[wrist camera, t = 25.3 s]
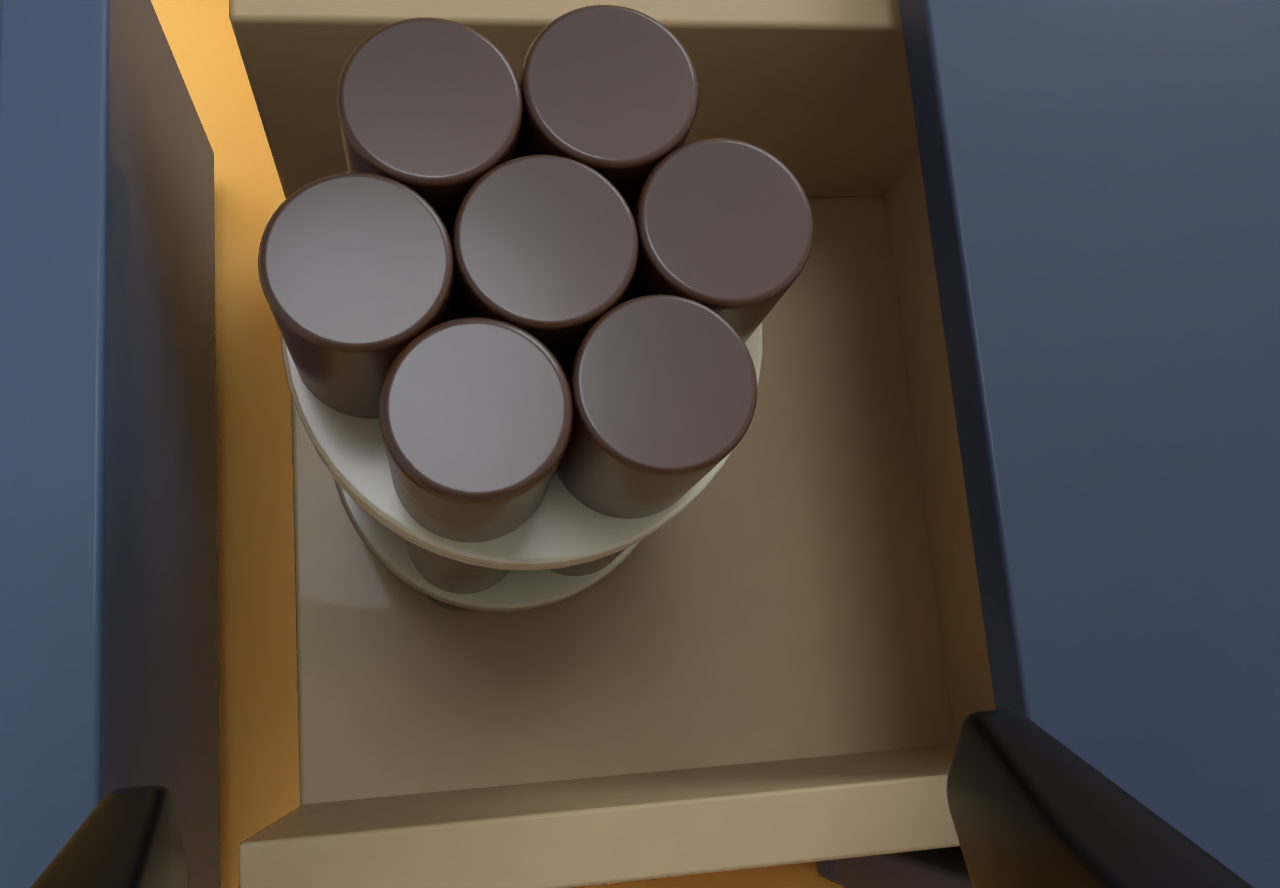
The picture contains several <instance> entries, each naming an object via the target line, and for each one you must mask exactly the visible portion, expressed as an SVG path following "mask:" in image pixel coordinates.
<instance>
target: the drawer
mask: <svg viewBox="0 0 1280 888" xmlns="http://www.w3.org/2000/svg"><path fill="white" fill-rule="evenodd" d="M593 5H615V6H622V7H626V8H631V9H634V10H636V11H639V12H642V13H644V14H646V15H648V16H650V17H652V18H654V19H655V20H657V21H658V22H660V23H661V24H663V25H664V26H665V27H666V28H667V29H669V30H670V31H671V32H672V33H673V34H674V35H675V36H676V37H677V38H678V40H679V41H680V42H681V44H682V45H683V46H684V48H685V50H686V51H687V53H688V55H689V57H690V59H691V61H692V64H693V66H694V68H695V72H696V76H697V79H698V87H699V102H698V109H697V113H696V116H695V119H694V122H693V125H692V127H691V129H690V132H689V134H688V137H687V139H686V141H685V144H684V145H686V144H689V143H692V142H696V141H699V140H705V139H712V138H725V139H734V140H739V141H744V142H747V143H750V144H752V145H755V146H757V147H759V148H761V149H763V150H765V151H767V152H769V153H770V154H772V155H773V156H775V157H776V158H777V159H778V160H780V161H781V162H782V163H783V164H784V165H785V166H786V167H787V168H788V169H789V170H790V171H791V172H792V173H793V175H794V176H795V177H796V179H797V180H798V181H799V183H800V185H801V187H802V188H803V190H804V192H805V195H806V197H807V199H808V202H809V206H810V209H811V213H812V220H813V241H812V247H811V251H810V255H809V258H808V260H807V262H806V265H805V267H804V268H803V270H802V272H801V273H800V275H799V276H798V278H797V279H796V280H795V281H794V283H793V284H792V285H791V286H790V287H789V289H788V290H787V291H786V292H785V294H784V295H783V296H782V297H781V299H780V300H779V301H778V302H777V304H776V305H775V306H774V307H773V309H772V310H771V311H770V312H769V314H768V315H767V316H766V317H765V319H764V320H763V321H762V362H761V370H760V377H759V384H758V388H757V401H756V408H755V411H754V415H753V419H752V421H751V423H750V426H749V428H748V430H747V432H746V433H745V435H744V437H743V438H742V440H741V441H740V442H739V444H738V445H737V446H736V447H735V448H734V450H733V451H732V453H731V455H730V456H729V458H728V460H727V461H726V463H725V465H724V466H723V468H722V469H721V470H720V471H719V472H718V474H717V475H716V476H715V477H714V479H713V480H712V481H711V482H710V484H709V485H708V486H707V487H706V489H705V490H704V491H703V492H702V493H701V494H700V495H699V496H697V497H696V498H695V499H694V500H693V501H692V502H691V503H690V504H689V505H688V506H687V507H686V508H685V509H684V510H683V511H681V512H680V513H679V514H678V515H677V516H676V517H675V518H673V519H672V520H671V521H669V522H668V523H666V524H665V525H664V526H662V527H661V528H659V529H658V530H657V531H655V532H654V533H652V534H651V535H650V536H648V537H646V538H644V539H642V540H641V541H640V543H639V544H638V545H637V546H636V548H635V549H634V550H633V551H632V552H631V554H630V555H629V556H628V557H627V558H626V559H625V560H624V561H623V562H621V563H620V564H619V565H618V566H617V567H616V568H615V569H614V570H613V571H612V572H611V573H609V574H608V575H607V576H605V577H604V578H603V579H601V580H600V581H598V582H597V583H596V584H594V585H593V586H591V587H590V588H588V589H586V590H584V591H582V592H580V593H579V594H577V595H575V596H573V597H571V598H568V599H565V600H563V601H560V602H557V603H555V604H552V605H548V606H544V607H540V608H535V609H531V610H523V611H513V612H489V611H479V610H473V609H471V610H465V611H456V610H450V609H447V608H443V607H441V606H439V605H437V604H435V603H434V602H432V601H431V600H430V599H429V598H427V596H426V595H425V594H424V593H422V592H420V591H418V590H417V589H415V588H413V587H412V586H410V585H409V584H407V583H405V582H404V581H402V580H401V579H399V578H398V577H397V576H396V575H395V574H393V573H392V572H391V571H390V570H389V569H387V568H386V567H385V566H384V565H383V564H382V563H381V562H380V561H379V560H378V559H377V558H376V557H375V555H374V554H373V553H372V552H371V551H370V550H369V549H368V548H367V546H366V545H365V543H364V542H363V540H362V539H361V537H360V536H359V535H358V533H357V532H356V530H355V528H354V526H353V524H352V522H351V520H350V518H349V516H348V515H347V513H346V511H345V509H344V507H343V504H342V501H341V499H340V496H339V493H338V490H337V487H336V484H335V480H334V477H333V475H332V474H331V472H330V471H329V470H328V468H327V467H326V465H325V464H324V462H323V461H322V460H321V458H320V457H319V455H318V453H317V451H316V449H315V447H314V445H313V443H312V441H311V439H310V437H309V436H308V434H307V432H306V430H305V428H304V426H303V424H302V422H301V420H300V418H299V415H298V413H297V410H296V407H295V404H294V401H293V398H292V395H291V406H292V451H293V496H294V541H295V586H296V631H297V676H298V721H299V766H300V806H299V807H298V808H296V809H295V810H293V811H291V812H290V813H288V814H287V815H285V816H283V817H282V818H280V819H279V820H277V821H276V822H274V823H272V824H271V825H269V826H268V827H266V828H264V829H263V830H261V831H260V832H258V833H256V834H255V835H253V836H252V837H250V838H248V839H247V840H245V841H244V842H242V843H241V844H240V846H239V888H575V887H584V886H593V885H603V884H612V883H621V882H630V881H640V880H649V879H658V878H668V877H677V876H686V875H696V874H705V873H714V872H724V871H733V870H742V869H751V868H761V867H770V866H779V865H789V864H798V863H807V862H817V861H826V860H835V859H845V858H854V857H863V856H872V855H882V854H891V853H900V852H910V851H919V850H928V849H938V848H947V847H956V846H960V843H959V840H958V836H957V833H956V830H955V826H954V823H953V820H952V817H951V813H950V810H949V806H948V800H947V779H948V774H949V770H950V767H951V763H952V759H953V755H954V752H955V748H956V744H957V740H958V737H959V733H960V729H961V726H962V723H963V721H964V719H965V718H966V717H967V716H968V715H969V714H970V713H973V712H979V711H990V710H996V709H995V702H994V695H993V687H992V680H991V673H990V665H989V658H988V651H987V643H986V636H985V629H984V622H983V614H982V607H981V600H980V592H979V585H978V578H977V570H976V563H975V556H974V548H973V541H972V534H971V527H970V519H969V512H968V505H967V497H966V490H965V483H964V475H963V468H962V461H961V454H960V446H959V439H958V432H957V424H956V417H955V410H954V402H953V395H952V388H951V380H950V373H949V366H948V359H947V351H946V344H945V337H944V329H943V322H942V315H941V307H940V300H939V293H938V286H937V278H936V271H935V264H934V256H933V249H932V242H931V234H930V227H929V220H928V212H927V205H926V198H925V191H924V183H923V176H922V169H921V161H920V154H919V147H918V139H917V132H916V125H915V118H914V110H913V103H912V96H911V88H910V81H909V74H908V66H907V59H906V52H905V44H904V37H903V30H902V23H901V15H900V8H899V1H898V0H229V17H230V21H231V24H232V27H233V30H234V34H235V37H236V40H237V43H238V46H239V50H240V53H241V56H242V59H243V63H244V66H245V69H246V72H247V75H248V79H249V82H250V85H251V88H252V91H253V95H254V98H255V101H256V104H257V108H258V111H259V114H260V117H261V120H262V124H263V127H264V130H265V133H266V136H267V140H268V143H269V146H270V149H271V153H272V156H273V159H274V162H275V165H276V169H277V172H278V175H279V178H280V181H281V185H282V188H283V191H284V194H285V198H286V199H287V198H288V197H289V196H291V195H292V194H293V193H295V192H296V191H297V190H298V189H300V188H302V187H303V186H305V185H307V184H309V183H310V182H313V181H315V180H318V179H320V178H323V177H327V176H330V175H334V174H341V173H346V172H347V171H348V168H347V163H346V157H345V152H344V146H343V141H342V135H341V130H340V124H339V119H338V113H337V104H336V94H337V86H338V81H339V77H340V74H341V72H342V69H343V67H344V65H345V63H346V61H347V60H348V58H349V56H350V55H351V54H352V52H353V51H354V50H355V49H356V47H357V46H358V45H359V44H360V43H361V42H362V41H364V40H365V39H366V38H367V37H368V36H370V35H371V34H372V33H374V32H375V31H377V30H379V29H381V28H382V27H384V26H387V25H389V24H392V23H394V22H397V21H401V20H405V19H411V18H425V17H431V18H440V19H446V20H450V21H454V22H457V23H460V24H463V25H465V26H467V27H470V28H472V29H474V30H476V31H477V32H479V33H480V34H482V35H483V36H485V37H486V38H487V39H489V40H490V41H491V42H492V43H493V44H494V45H495V46H496V47H497V48H498V49H499V50H500V51H501V52H502V53H503V54H504V55H505V57H506V58H507V60H508V61H509V62H510V64H511V66H512V67H513V69H514V71H515V73H516V75H517V78H518V80H519V83H520V82H521V74H522V68H523V63H524V60H525V57H526V54H527V51H528V50H529V48H530V46H531V44H532V42H533V41H534V39H535V38H536V37H537V35H538V34H539V33H540V32H541V31H542V30H543V29H544V28H545V27H546V26H547V25H548V24H550V23H551V22H552V21H554V20H555V19H556V18H558V17H560V16H562V15H563V14H565V13H567V12H570V11H572V10H575V9H578V8H582V7H586V6H593ZM149 785H163V786H165V787H167V788H168V789H169V791H170V792H171V794H172V797H173V800H174V805H175V809H176V814H177V818H178V823H179V827H180V832H181V836H182V841H183V845H184V850H185V855H186V862H187V888H221V881H220V772H219V662H218V553H217V443H216V334H215V225H214V153H213V150H212V148H211V145H210V143H209V141H208V138H207V136H206V133H205V131H204V129H203V126H202V124H201V121H200V119H199V116H198V114H197V112H196V109H195V107H194V104H193V102H192V100H191V97H190V95H189V92H188V90H187V87H186V85H185V83H184V80H183V78H182V75H181V73H180V71H179V68H178V66H177V63H176V61H175V59H174V56H173V54H172V51H171V49H170V46H169V44H168V42H167V39H166V37H165V34H164V32H163V30H162V27H161V25H160V22H159V20H158V17H157V15H156V13H155V10H154V8H153V5H152V3H151V1H150V0H0V888H30V887H31V886H32V885H33V883H34V882H35V881H36V880H37V878H38V877H39V876H40V875H41V873H42V872H43V871H44V870H45V869H46V867H47V866H48V865H49V864H50V862H51V861H52V860H53V859H54V857H55V856H56V855H57V854H58V853H59V851H60V850H61V849H62V848H63V846H64V845H65V844H66V843H67V841H68V840H69V839H70V838H71V836H72V835H73V834H74V833H75V832H76V830H77V829H78V828H79V827H80V825H81V824H82V823H83V822H84V820H85V819H86V818H87V817H88V816H89V814H90V813H91V812H92V811H93V809H94V808H95V807H96V806H97V804H98V803H99V802H100V801H101V799H102V798H103V797H104V796H105V795H106V794H108V793H109V792H111V791H112V790H114V789H118V788H126V787H138V786H149Z"/></svg>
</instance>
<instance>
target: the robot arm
mask: <svg viewBox="0 0 1280 888" xmlns="http://www.w3.org/2000/svg"><path fill="white" fill-rule="evenodd" d="M947 800H948V806H949V810H950V813H951V817H952V820H953V823H954V826H955V830H956V833H957V836H958V840H959V843H960V846H961V850H962V853H963V856H964V860H965V863H966V866H967V870H968V873H969V876H970V880H971V883H972V886H973V888H1254V887H1253V886H1251V885H1250V884H1249V883H1247V882H1246V881H1245V880H1243V879H1242V878H1241V877H1239V876H1238V875H1237V874H1235V873H1234V872H1233V871H1231V870H1230V869H1229V868H1227V867H1226V866H1225V865H1223V864H1222V863H1221V862H1219V861H1218V860H1217V859H1215V858H1214V857H1213V856H1211V855H1210V854H1209V853H1207V852H1206V851H1205V850H1203V849H1202V848H1201V847H1199V846H1198V845H1197V844H1195V843H1194V842H1193V841H1191V840H1190V839H1189V838H1187V837H1186V836H1185V835H1183V834H1182V833H1181V832H1179V831H1178V830H1177V829H1175V828H1174V827H1173V826H1171V825H1170V824H1169V823H1167V822H1166V821H1165V820H1163V819H1162V818H1161V817H1159V816H1158V815H1157V814H1155V813H1154V812H1153V811H1151V810H1150V809H1149V808H1147V807H1146V806H1145V805H1143V804H1142V803H1141V802H1139V801H1138V800H1137V799H1135V798H1134V797H1133V796H1131V795H1130V794H1129V793H1127V792H1126V791H1125V790H1123V789H1122V788H1121V787H1119V786H1118V785H1117V784H1115V783H1114V782H1113V781H1111V780H1110V779H1109V778H1107V777H1106V776H1105V775H1103V774H1102V773H1101V772H1099V771H1098V770H1097V769H1095V768H1094V767H1093V766H1091V765H1090V764H1089V763H1087V762H1086V761H1085V760H1083V759H1082V758H1081V757H1079V756H1078V755H1077V754H1075V753H1074V752H1073V751H1071V750H1070V749H1069V748H1067V747H1066V746H1065V745H1063V744H1062V743H1061V742H1059V741H1058V740H1057V739H1055V738H1054V737H1053V736H1051V735H1050V734H1049V733H1047V732H1046V731H1045V730H1043V729H1042V728H1041V727H1039V726H1038V725H1037V724H1035V723H1034V722H1033V721H1031V720H1030V719H1029V718H1027V717H1026V716H1025V715H1023V714H1022V713H1020V712H1018V711H1015V710H1012V709H1001V710H990V711H979V712H973V713H970V714H969V715H968V716H967V717H966V718H965V719H964V721H963V723H962V726H961V729H960V733H959V737H958V740H957V744H956V748H955V752H954V755H953V759H952V763H951V767H950V770H949V774H948V779H947ZM30 888H187V862H186V855H185V850H184V845H183V841H182V836H181V832H180V827H179V823H178V818H177V814H176V809H175V805H174V800H173V797H172V794H171V792H170V791H169V789H168V788H167V787H165V786H163V785H149V786H138V787H126V788H118V789H114V790H112V791H111V792H109V793H108V794H106V795H105V796H104V797H103V798H102V799H101V801H100V802H99V803H98V804H97V806H96V807H95V808H94V809H93V811H92V812H91V813H90V814H89V816H88V817H87V818H86V819H85V820H84V822H83V823H82V824H81V825H80V827H79V828H78V829H77V830H76V832H75V833H74V834H73V835H72V836H71V838H70V839H69V840H68V841H67V843H66V844H65V845H64V846H63V848H62V849H61V850H60V851H59V853H58V854H57V855H56V856H55V857H54V859H53V860H52V861H51V862H50V864H49V865H48V866H47V867H46V869H45V870H44V871H43V872H42V873H41V875H40V876H39V877H38V878H37V880H36V881H35V882H34V883H33V885H32V886H31V887H30Z"/></svg>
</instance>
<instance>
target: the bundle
mask: <svg viewBox="0 0 1280 888" xmlns="http://www.w3.org/2000/svg"><path fill="white" fill-rule="evenodd" d="M698 102H699V87H698V79H697V76H696V72H695V68H694V66H693V64H692V61H691V59H690V57H689V55H688V53H687V51H686V50H685V48H684V46H683V45H682V44H681V42H680V41H679V40H678V38H677V37H676V36H675V35H674V34H673V33H672V32H671V31H670V30H669V29H667V28H666V27H665V26H664V25H663V24H661V23H660V22H658V21H657V20H655V19H654V18H652V17H650V16H648V15H646V14H644V13H642V12H639V11H636V10H634V9H631V8H626V7H622V6H615V5H593V6H586V7H582V8H578V9H575V10H572V11H570V12H567V13H565V14H563V15H562V16H560V17H558V18H556V19H555V20H554V21H552V22H551V23H550V24H548V25H547V26H546V27H545V28H544V29H543V30H542V31H541V32H540V33H539V34H538V35H537V37H536V38H535V39H534V41H533V42H532V44H531V46H530V48H529V50H528V51H527V54H526V57H525V60H524V63H523V68H522V74H521V82H520V83H519V80H518V78H517V75H516V73H515V71H514V69H513V67H512V66H511V64H510V62H509V61H508V60H507V58H506V57H505V55H504V54H503V53H502V52H501V51H500V50H499V49H498V48H497V47H496V46H495V45H494V44H493V43H492V42H491V41H490V40H489V39H487V38H486V37H485V36H483V35H482V34H480V33H479V32H477V31H476V30H474V29H472V28H470V27H467V26H465V25H463V24H460V23H457V22H454V21H450V20H446V19H440V18H431V17H425V18H411V19H405V20H401V21H397V22H394V23H392V24H389V25H387V26H384V27H382V28H381V29H379V30H377V31H375V32H374V33H372V34H371V35H370V36H368V37H367V38H366V39H365V40H364V41H362V42H361V43H360V44H359V45H358V46H357V47H356V49H355V50H354V51H353V52H352V54H351V55H350V56H349V58H348V60H347V61H346V63H345V65H344V67H343V69H342V72H341V74H340V77H339V81H338V86H337V94H336V104H337V113H338V119H339V124H340V130H341V135H342V141H343V146H344V152H345V157H346V163H347V168H348V171H347V172H346V173H341V174H334V175H330V176H327V177H323V178H320V179H318V180H315V181H313V182H310V183H309V184H307V185H305V186H303V187H302V188H300V189H298V190H297V191H296V192H295V193H293V194H292V195H291V196H289V197H288V198H287V199H286V200H285V201H284V202H283V203H282V204H281V205H280V206H279V207H278V209H277V210H276V211H275V213H274V214H273V215H272V217H271V219H270V221H269V222H268V224H267V226H266V228H265V231H264V233H263V236H262V239H261V243H260V248H259V257H258V268H259V276H260V282H261V286H262V289H263V291H264V294H265V297H266V299H267V302H268V304H269V306H270V308H271V311H272V313H273V315H274V318H275V320H276V322H277V325H278V327H279V329H280V332H281V340H282V356H283V361H284V366H285V372H286V377H287V382H288V386H289V389H290V392H291V395H292V398H293V401H294V404H295V407H296V410H297V413H298V415H299V418H300V420H301V422H302V424H303V426H304V428H305V430H306V432H307V434H308V436H309V437H310V439H311V441H312V443H313V445H314V447H315V449H316V451H317V453H318V455H319V457H320V458H321V460H322V461H323V462H324V464H325V465H326V467H327V468H328V470H329V471H330V472H331V474H332V475H333V477H334V480H335V484H336V487H337V490H338V493H339V496H340V499H341V501H342V504H343V507H344V509H345V511H346V513H347V515H348V516H349V518H350V520H351V522H352V524H353V526H354V528H355V530H356V532H357V533H358V535H359V536H360V537H361V539H362V540H363V542H364V543H365V545H366V546H367V548H368V549H369V550H370V551H371V552H372V553H373V554H374V555H375V557H376V558H377V559H378V560H379V561H380V562H381V563H382V564H383V565H384V566H385V567H386V568H387V569H389V570H390V571H391V572H392V573H393V574H395V575H396V576H397V577H398V578H399V579H401V580H402V581H404V582H405V583H407V584H409V585H410V586H412V587H413V588H415V589H417V590H418V591H420V592H422V593H424V594H425V595H426V596H427V598H429V599H430V600H431V601H432V602H434V603H435V604H437V605H439V606H441V607H443V608H447V609H450V610H456V611H465V610H471V609H473V610H479V611H489V612H513V611H523V610H531V609H535V608H540V607H544V606H548V605H552V604H555V603H557V602H560V601H563V600H565V599H568V598H571V597H573V596H575V595H577V594H579V593H580V592H582V591H584V590H586V589H588V588H590V587H591V586H593V585H594V584H596V583H597V582H598V581H600V580H601V579H603V578H604V577H605V576H607V575H608V574H609V573H611V572H612V571H613V570H614V569H615V568H616V567H617V566H618V565H619V564H620V563H621V562H623V561H624V560H625V559H626V558H627V557H628V556H629V555H630V554H631V552H632V551H633V550H634V549H635V548H636V546H637V545H638V544H639V543H640V541H641V540H642V539H644V538H646V537H648V536H650V535H651V534H652V533H654V532H655V531H657V530H658V529H659V528H661V527H662V526H664V525H665V524H666V523H668V522H669V521H671V520H672V519H673V518H675V517H676V516H677V515H678V514H679V513H680V512H681V511H683V510H684V509H685V508H686V507H687V506H688V505H689V504H690V503H691V502H692V501H693V500H694V499H695V498H696V497H697V496H699V495H700V494H701V493H702V492H703V491H704V490H705V489H706V487H707V486H708V485H709V484H710V482H711V481H712V480H713V479H714V477H715V476H716V475H717V474H718V472H719V471H720V470H721V469H722V468H723V466H724V465H725V463H726V461H727V460H728V458H729V456H730V455H731V453H732V451H733V450H734V448H735V447H736V446H737V445H738V444H739V442H740V441H741V440H742V438H743V437H744V435H745V433H746V432H747V430H748V428H749V426H750V423H751V421H752V419H753V415H754V411H755V408H756V401H757V388H758V384H759V377H760V370H761V362H762V321H763V320H764V319H765V317H766V316H767V315H768V314H769V312H770V311H771V310H772V309H773V307H774V306H775V305H776V304H777V302H778V301H779V300H780V299H781V297H782V296H783V295H784V294H785V292H786V291H787V290H788V289H789V287H790V286H791V285H792V284H793V283H794V281H795V280H796V279H797V278H798V276H799V275H800V273H801V272H802V270H803V268H804V267H805V265H806V262H807V260H808V258H809V255H810V251H811V247H812V241H813V220H812V213H811V209H810V206H809V202H808V199H807V197H806V195H805V192H804V190H803V188H802V187H801V185H800V183H799V181H798V180H797V179H796V177H795V176H794V175H793V173H792V172H791V171H790V170H789V169H788V168H787V167H786V166H785V165H784V164H783V163H782V162H781V161H780V160H778V159H777V158H776V157H775V156H773V155H772V154H770V153H769V152H767V151H765V150H763V149H761V148H759V147H757V146H755V145H752V144H750V143H747V142H744V141H739V140H734V139H725V138H712V139H705V140H699V141H696V142H692V143H689V144H686V145H684V144H685V141H686V139H687V137H688V134H689V132H690V129H691V127H692V125H693V122H694V119H695V116H696V113H697V109H698Z"/></svg>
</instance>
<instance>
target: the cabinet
mask: <svg viewBox="0 0 1280 888" xmlns="http://www.w3.org/2000/svg"><path fill="white" fill-rule="evenodd" d="M898 1H899V8H900V15H901V23H902V30H903V37H904V44H905V52H906V59H907V66H908V74H909V81H910V88H911V96H912V103H913V110H914V118H915V125H916V132H917V139H918V147H919V154H920V161H921V169H922V176H923V183H924V191H925V198H926V205H927V212H928V220H929V227H930V234H931V242H932V249H933V256H934V264H935V271H936V278H937V286H938V293H939V300H940V307H941V315H942V322H943V329H944V337H945V344H946V351H947V359H948V366H949V373H950V380H951V388H952V395H953V402H954V410H955V417H956V424H957V432H958V439H959V446H960V454H961V461H962V468H963V475H964V483H965V490H966V497H967V505H968V512H969V519H970V527H971V534H972V541H973V548H974V556H975V563H976V570H977V578H978V585H979V592H980V600H981V607H982V614H983V622H984V629H985V636H986V643H987V651H988V658H989V665H990V673H991V680H992V687H993V695H994V702H995V709H996V710H1001V709H1012V710H1015V711H1018V712H1020V713H1022V714H1023V715H1025V716H1026V717H1027V718H1029V719H1030V720H1031V721H1033V722H1034V723H1035V724H1037V725H1038V726H1039V727H1041V728H1042V729H1043V730H1045V731H1046V732H1047V733H1049V734H1050V735H1051V736H1053V737H1054V738H1055V739H1057V740H1058V741H1059V742H1061V743H1062V744H1063V745H1065V746H1066V747H1067V748H1069V749H1070V750H1071V751H1073V752H1074V753H1075V754H1077V755H1078V756H1079V757H1081V758H1082V759H1083V760H1085V761H1086V762H1087V763H1089V764H1090V765H1091V766H1093V767H1094V768H1095V769H1097V770H1098V771H1099V772H1101V773H1102V774H1103V775H1105V776H1106V777H1107V778H1109V779H1110V780H1111V781H1113V782H1114V783H1115V784H1117V785H1118V786H1119V787H1121V788H1122V789H1123V790H1125V791H1126V792H1127V793H1129V794H1130V795H1131V796H1133V797H1134V798H1135V799H1137V800H1138V801H1139V802H1141V803H1142V804H1143V805H1145V806H1146V807H1147V808H1149V809H1150V810H1151V811H1153V812H1154V813H1155V814H1157V815H1158V816H1159V817H1161V818H1162V819H1163V820H1165V821H1166V822H1167V823H1169V824H1170V825H1171V826H1173V827H1174V828H1175V829H1177V830H1178V831H1179V832H1181V833H1182V834H1183V835H1185V836H1186V837H1187V838H1189V839H1190V840H1191V841H1193V842H1194V843H1195V844H1197V845H1198V846H1199V847H1201V848H1202V849H1203V850H1205V851H1206V852H1207V853H1209V854H1210V855H1211V856H1213V857H1214V858H1215V859H1217V860H1218V861H1219V862H1221V863H1222V864H1223V865H1225V866H1226V867H1227V868H1229V869H1230V870H1231V871H1233V872H1234V873H1235V874H1237V875H1238V876H1239V877H1241V878H1242V879H1243V880H1245V881H1246V882H1247V883H1249V884H1250V885H1251V886H1253V887H1254V888H1280V0H898ZM817 867H818V874H819V876H820V877H823V878H825V879H827V880H830V881H832V882H835V883H837V884H839V885H842V886H844V887H846V888H973V886H972V883H971V880H970V876H969V873H968V870H967V866H966V863H965V860H964V856H963V853H962V850H961V846H956V847H947V848H938V849H928V850H919V851H910V852H900V853H891V854H882V855H872V856H863V857H854V858H845V859H835V860H826V861H817Z"/></svg>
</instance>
